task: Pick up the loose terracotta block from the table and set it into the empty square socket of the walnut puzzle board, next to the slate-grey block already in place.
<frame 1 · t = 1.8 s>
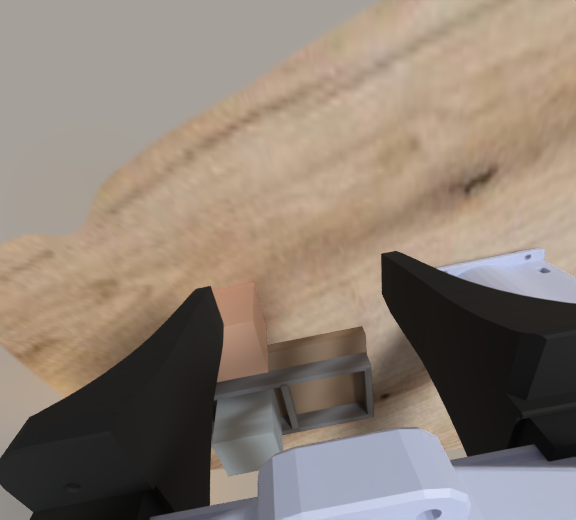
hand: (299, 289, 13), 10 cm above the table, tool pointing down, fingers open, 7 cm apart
terracotta block: (231, 310, 26), on the table
puzzle board: (287, 386, 30), on the table
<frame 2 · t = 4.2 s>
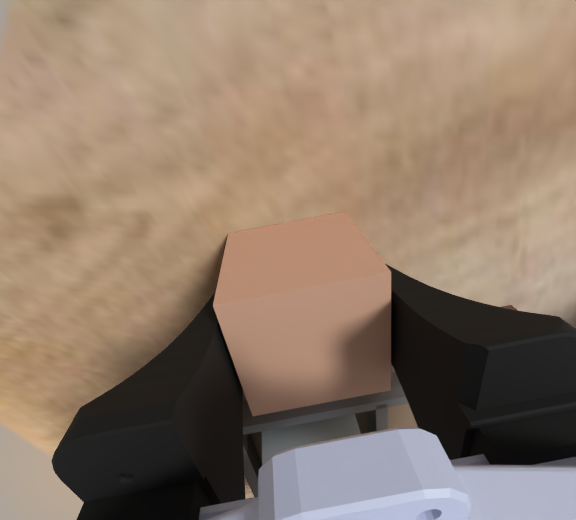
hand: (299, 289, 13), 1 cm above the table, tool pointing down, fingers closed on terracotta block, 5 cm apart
terracotta block: (295, 272, 14), on the table, touching gripper
puzzle board: (367, 404, 19), on the table
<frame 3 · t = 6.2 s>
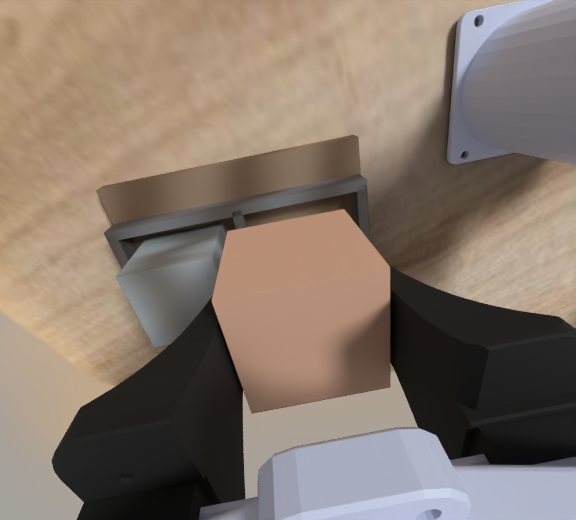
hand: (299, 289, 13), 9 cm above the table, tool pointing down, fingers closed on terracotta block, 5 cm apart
terracotta block: (294, 270, 14), point 8 cm above the table, touching gripper
puzzle board: (250, 245, 22), on the table
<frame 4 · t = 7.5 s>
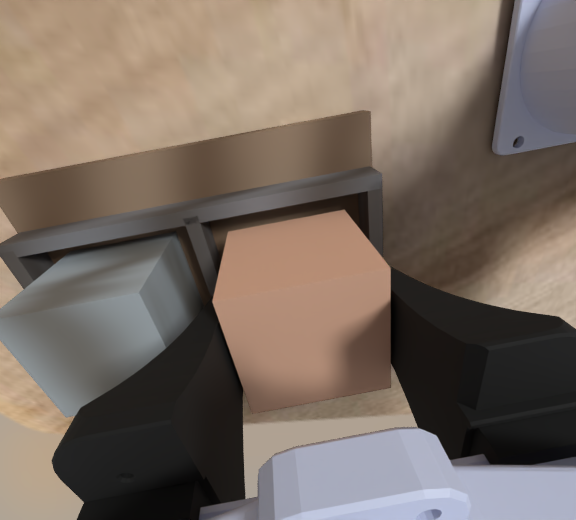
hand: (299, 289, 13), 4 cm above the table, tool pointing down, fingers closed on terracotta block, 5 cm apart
terracotta block: (295, 270, 14), point 2 cm above the table, touching gripper
puzzle board: (220, 262, 16), on the table
when the fingers open (4 cm above the table, at t = 8.3 s): terracotta block drops 1 cm, resting on puzzle board.
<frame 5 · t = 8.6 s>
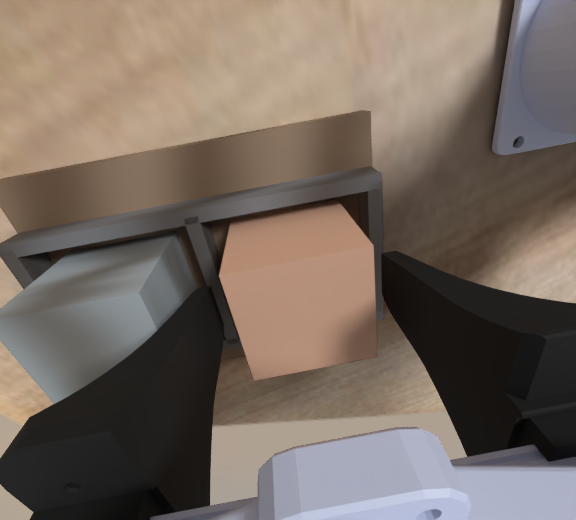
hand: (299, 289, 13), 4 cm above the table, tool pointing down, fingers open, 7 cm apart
terracotta block: (292, 256, 15), point 1 cm above the table, touching puzzle board
puzzle board: (220, 262, 16), on the table
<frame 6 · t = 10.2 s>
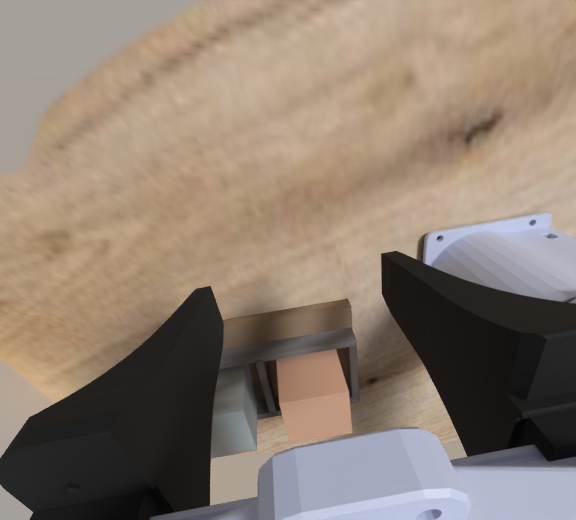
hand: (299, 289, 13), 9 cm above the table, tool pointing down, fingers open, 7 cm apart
terracotta block: (308, 366, 27), point 1 cm above the table, touching puzzle board
puzzle board: (265, 365, 28), on the table
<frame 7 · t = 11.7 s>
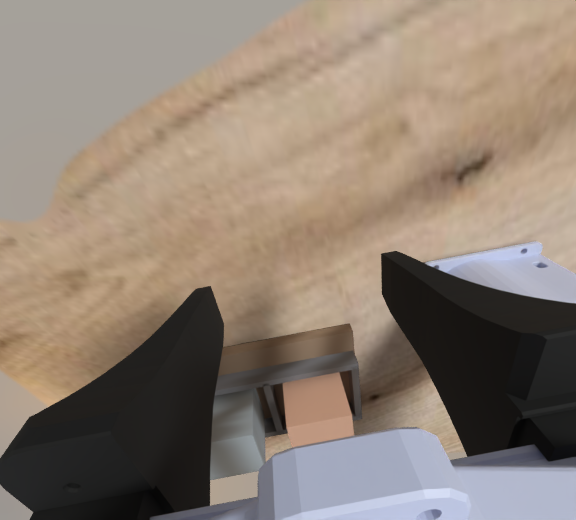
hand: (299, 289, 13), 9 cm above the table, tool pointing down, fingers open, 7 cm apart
terracotta block: (312, 387, 28), point 1 cm above the table, touching puzzle board
puzzle board: (272, 386, 29), on the table
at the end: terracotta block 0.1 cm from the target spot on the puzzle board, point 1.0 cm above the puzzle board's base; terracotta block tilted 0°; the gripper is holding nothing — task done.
